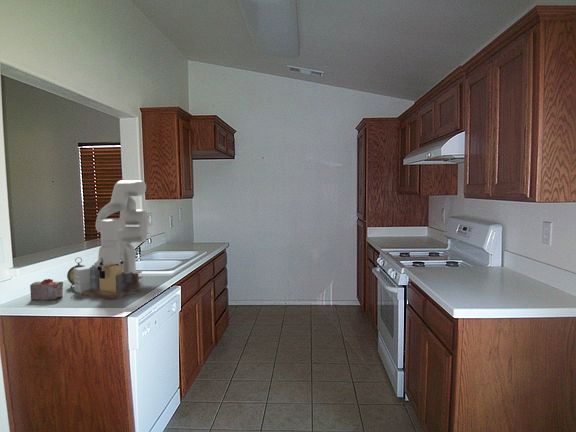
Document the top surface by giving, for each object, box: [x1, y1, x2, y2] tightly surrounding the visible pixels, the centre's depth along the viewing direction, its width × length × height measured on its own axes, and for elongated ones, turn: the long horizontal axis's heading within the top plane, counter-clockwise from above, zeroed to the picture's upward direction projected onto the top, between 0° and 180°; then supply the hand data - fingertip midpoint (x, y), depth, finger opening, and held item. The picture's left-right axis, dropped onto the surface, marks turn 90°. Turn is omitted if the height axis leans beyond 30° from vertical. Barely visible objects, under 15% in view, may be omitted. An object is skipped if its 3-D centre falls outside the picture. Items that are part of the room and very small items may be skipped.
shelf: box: [82, 264, 140, 301], centre depth 189 cm, size 16×22×14 cm
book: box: [99, 265, 122, 292], centre depth 189 cm, size 4×12×13 cm, turn 66°
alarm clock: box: [66, 256, 86, 288], centre depth 203 cm, size 11×5×16 cm, turn 106°
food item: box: [29, 278, 64, 302], centre depth 180 cm, size 14×8×10 cm, turn 93°
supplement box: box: [74, 265, 91, 295], centre depth 193 cm, size 7×7×13 cm
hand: (110, 276), depth 189 cm, fingers open, 9 cm apart
